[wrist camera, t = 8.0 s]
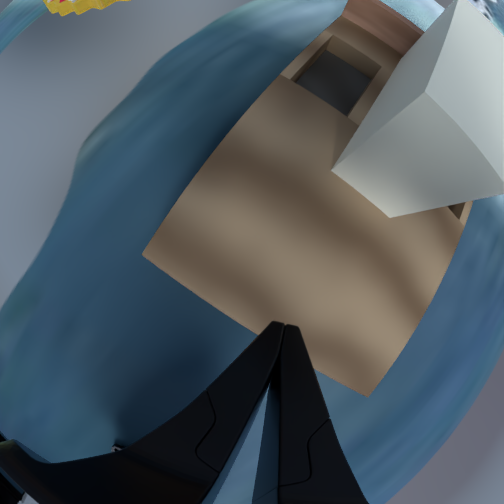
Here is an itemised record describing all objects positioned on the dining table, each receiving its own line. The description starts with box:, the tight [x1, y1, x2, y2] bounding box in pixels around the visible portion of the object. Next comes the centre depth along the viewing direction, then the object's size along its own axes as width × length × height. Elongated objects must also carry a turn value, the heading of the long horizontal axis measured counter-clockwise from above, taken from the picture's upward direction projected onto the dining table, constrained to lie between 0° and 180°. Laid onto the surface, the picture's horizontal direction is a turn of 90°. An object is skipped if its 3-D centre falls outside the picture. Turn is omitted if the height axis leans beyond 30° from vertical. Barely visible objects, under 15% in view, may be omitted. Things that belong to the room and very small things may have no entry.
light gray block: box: [331, 0, 504, 218], centre depth 12 cm, size 14×5×10 cm, turn 145°
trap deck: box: [142, 0, 473, 397], centre depth 16 cm, size 26×18×6 cm
